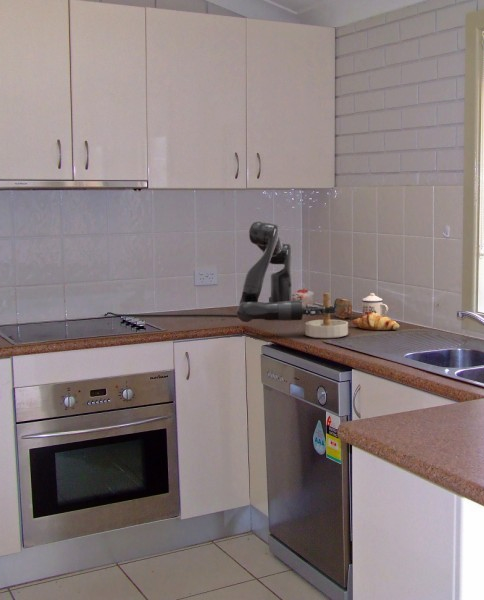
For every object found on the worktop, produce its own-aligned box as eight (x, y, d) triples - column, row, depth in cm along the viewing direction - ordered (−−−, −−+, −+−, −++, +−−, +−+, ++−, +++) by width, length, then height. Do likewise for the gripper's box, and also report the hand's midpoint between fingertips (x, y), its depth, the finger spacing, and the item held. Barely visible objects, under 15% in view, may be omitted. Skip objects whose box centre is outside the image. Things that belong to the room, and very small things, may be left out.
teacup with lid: (358, 320, 366) (358, 293, 365) (367, 317, 374) (367, 291, 373) (383, 322, 361) (383, 295, 359) (392, 319, 369) (392, 293, 367)
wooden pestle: (319, 334, 326) (318, 293, 324) (323, 332, 330) (323, 292, 328) (329, 335, 324) (329, 294, 322) (334, 333, 328) (333, 292, 326)
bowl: (297, 337, 323) (297, 324, 322) (317, 331, 338) (316, 318, 337) (337, 340, 316) (337, 327, 316) (354, 333, 332) (354, 321, 331)
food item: (303, 311, 394) (303, 290, 392) (288, 310, 397) (288, 290, 395) (316, 308, 406) (316, 287, 405) (301, 307, 409) (301, 287, 408)
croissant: (401, 337, 341) (405, 319, 344) (393, 329, 333) (397, 310, 335) (354, 333, 350) (359, 315, 353) (345, 325, 342) (350, 306, 344)
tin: (333, 315, 381) (333, 297, 380) (339, 315, 382) (339, 296, 381) (346, 320, 367) (346, 301, 366) (353, 319, 369) (353, 300, 368)
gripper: (291, 303, 316) (336, 302, 319) (287, 298, 330) (331, 297, 333) (291, 323, 317) (336, 321, 320) (288, 317, 331) (331, 316, 334)
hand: (333, 309), depth 326 cm, fingers closed on wooden pestle, 2 cm apart
